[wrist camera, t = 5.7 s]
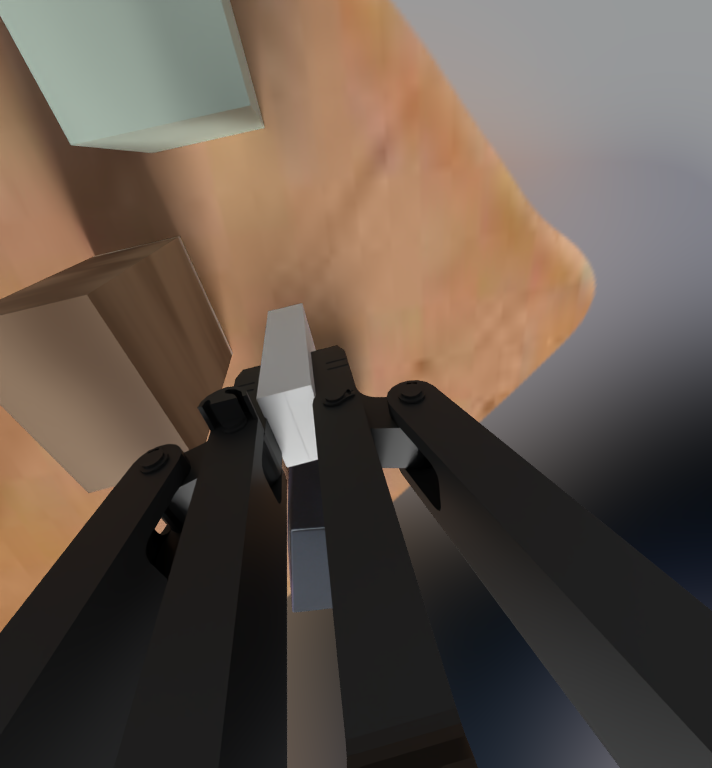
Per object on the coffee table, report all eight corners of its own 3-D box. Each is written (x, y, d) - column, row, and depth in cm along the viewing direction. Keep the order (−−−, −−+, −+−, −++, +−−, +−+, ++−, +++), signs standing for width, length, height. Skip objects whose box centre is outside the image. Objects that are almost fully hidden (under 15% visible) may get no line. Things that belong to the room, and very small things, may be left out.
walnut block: (164, 369, 24) (88, 492, 15) (95, 255, 20) (-72, 332, 11) (232, 352, 24) (198, 464, 15) (179, 235, 20) (86, 294, 11)
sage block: (152, 153, 18) (70, 145, 11) (78, -16, 14) (-103, -173, 8) (264, 128, 18) (250, 105, 11) (217, -44, 15) (158, -221, 8)
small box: (286, 419, 28) (285, 531, 20) (362, 416, 30) (393, 521, 21) (289, 502, 34) (289, 618, 25) (352, 497, 35) (373, 606, 26)
